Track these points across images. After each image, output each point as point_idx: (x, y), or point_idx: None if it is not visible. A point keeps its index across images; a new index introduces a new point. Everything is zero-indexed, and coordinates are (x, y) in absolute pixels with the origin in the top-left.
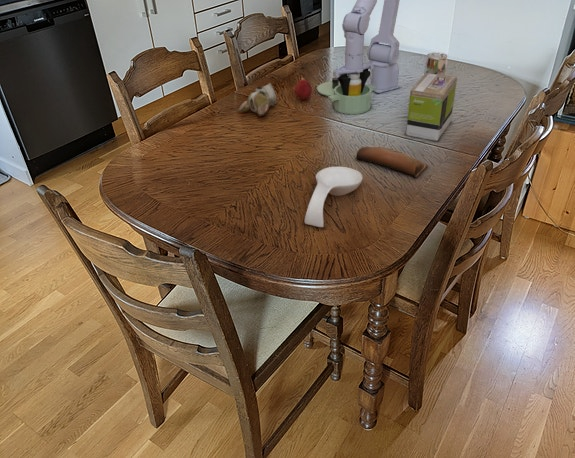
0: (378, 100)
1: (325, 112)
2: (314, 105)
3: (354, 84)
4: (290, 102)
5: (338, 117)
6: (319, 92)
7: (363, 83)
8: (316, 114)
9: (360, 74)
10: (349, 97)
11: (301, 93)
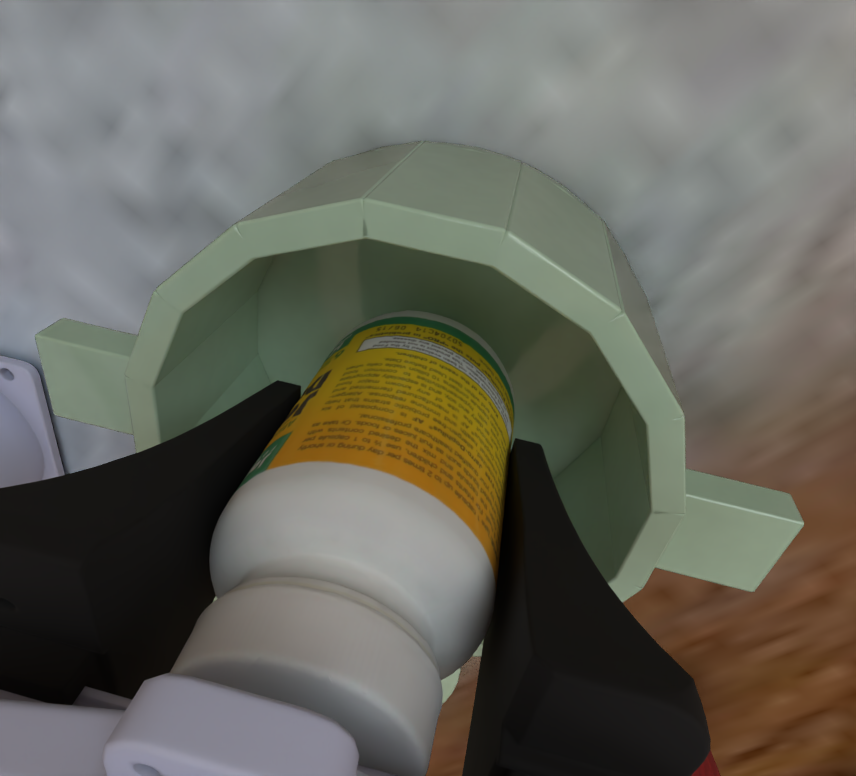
0: (112, 259)
1: (746, 457)
2: (662, 598)
3: (431, 507)
4: (731, 730)
5: (791, 276)
6: (457, 678)
7: (214, 450)
8: (851, 490)
9: (152, 627)
10: (650, 356)
11: (715, 771)
